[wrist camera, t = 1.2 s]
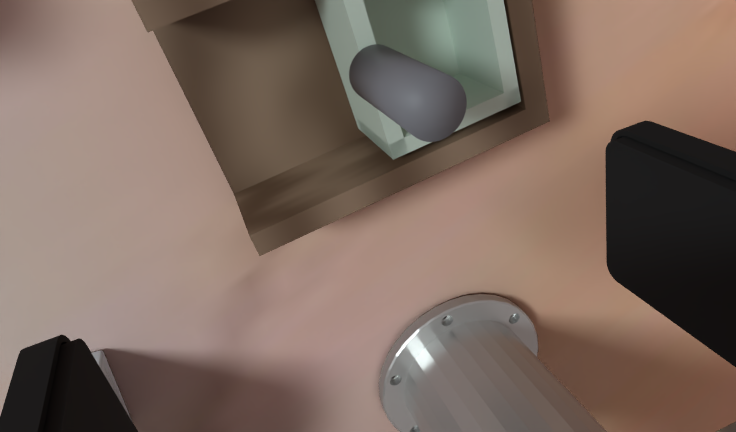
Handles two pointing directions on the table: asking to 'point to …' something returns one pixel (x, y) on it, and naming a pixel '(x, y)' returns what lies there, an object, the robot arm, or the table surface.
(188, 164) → the table surface
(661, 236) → the robot arm
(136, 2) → the bay
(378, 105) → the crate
